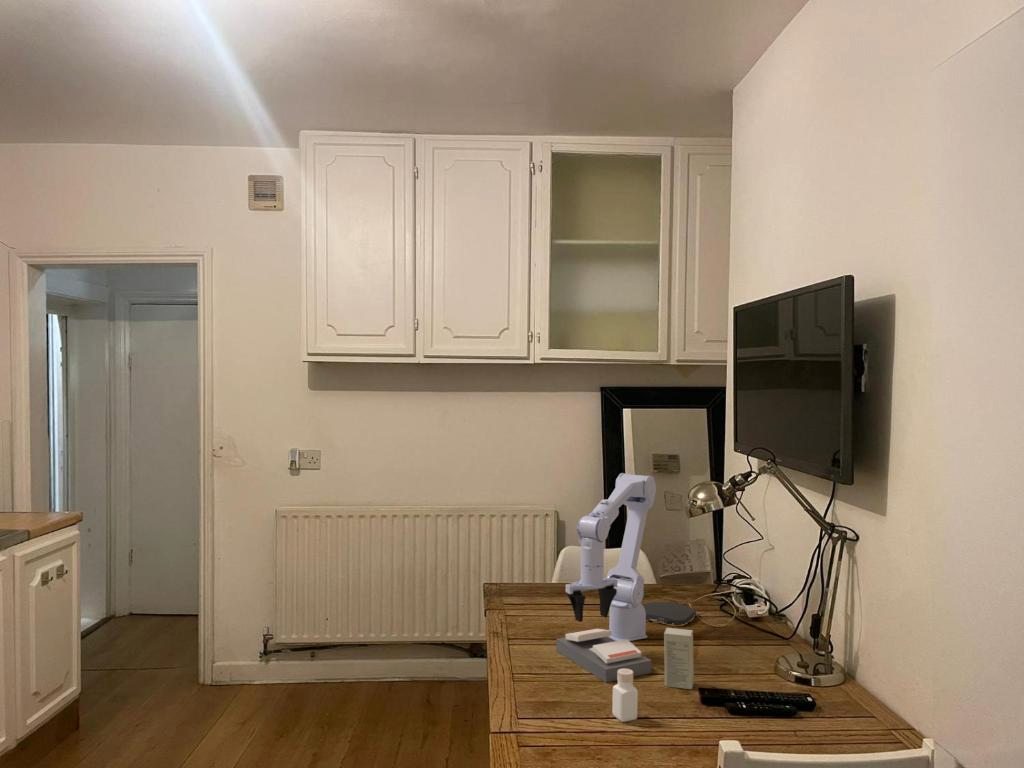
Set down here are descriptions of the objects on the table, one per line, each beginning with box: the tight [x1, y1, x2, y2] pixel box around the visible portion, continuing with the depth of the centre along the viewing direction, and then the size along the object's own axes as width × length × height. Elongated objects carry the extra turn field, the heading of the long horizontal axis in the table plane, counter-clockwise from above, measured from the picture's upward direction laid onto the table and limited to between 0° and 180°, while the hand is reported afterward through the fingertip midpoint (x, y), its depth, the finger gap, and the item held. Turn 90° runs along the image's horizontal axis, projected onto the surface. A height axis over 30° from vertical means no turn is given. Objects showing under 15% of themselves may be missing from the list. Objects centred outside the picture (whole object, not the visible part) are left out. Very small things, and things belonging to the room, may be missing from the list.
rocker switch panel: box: [555, 636, 652, 683], centre depth 179 cm, size 13×22×3 cm, turn 28°
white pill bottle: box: [612, 669, 639, 723], centre depth 149 cm, size 4×4×10 cm
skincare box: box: [663, 627, 695, 690], centre depth 166 cm, size 6×4×12 cm
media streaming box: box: [642, 601, 697, 625], centre depth 214 cm, size 15×15×3 cm
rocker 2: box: [592, 639, 642, 664], centre depth 173 cm, size 10×6×1 cm, turn 118°
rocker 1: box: [565, 628, 612, 642], centre depth 184 cm, size 10×6×1 cm, turn 118°
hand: (591, 618), depth 182 cm, fingers open, 7 cm apart
